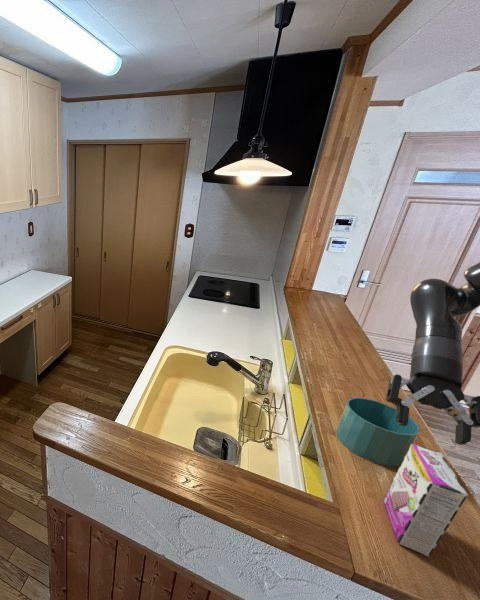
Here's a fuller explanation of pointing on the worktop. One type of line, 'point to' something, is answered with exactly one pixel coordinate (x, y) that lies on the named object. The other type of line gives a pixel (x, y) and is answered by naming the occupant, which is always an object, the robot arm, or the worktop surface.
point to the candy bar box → (423, 499)
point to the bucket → (375, 431)
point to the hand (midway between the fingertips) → (431, 434)
